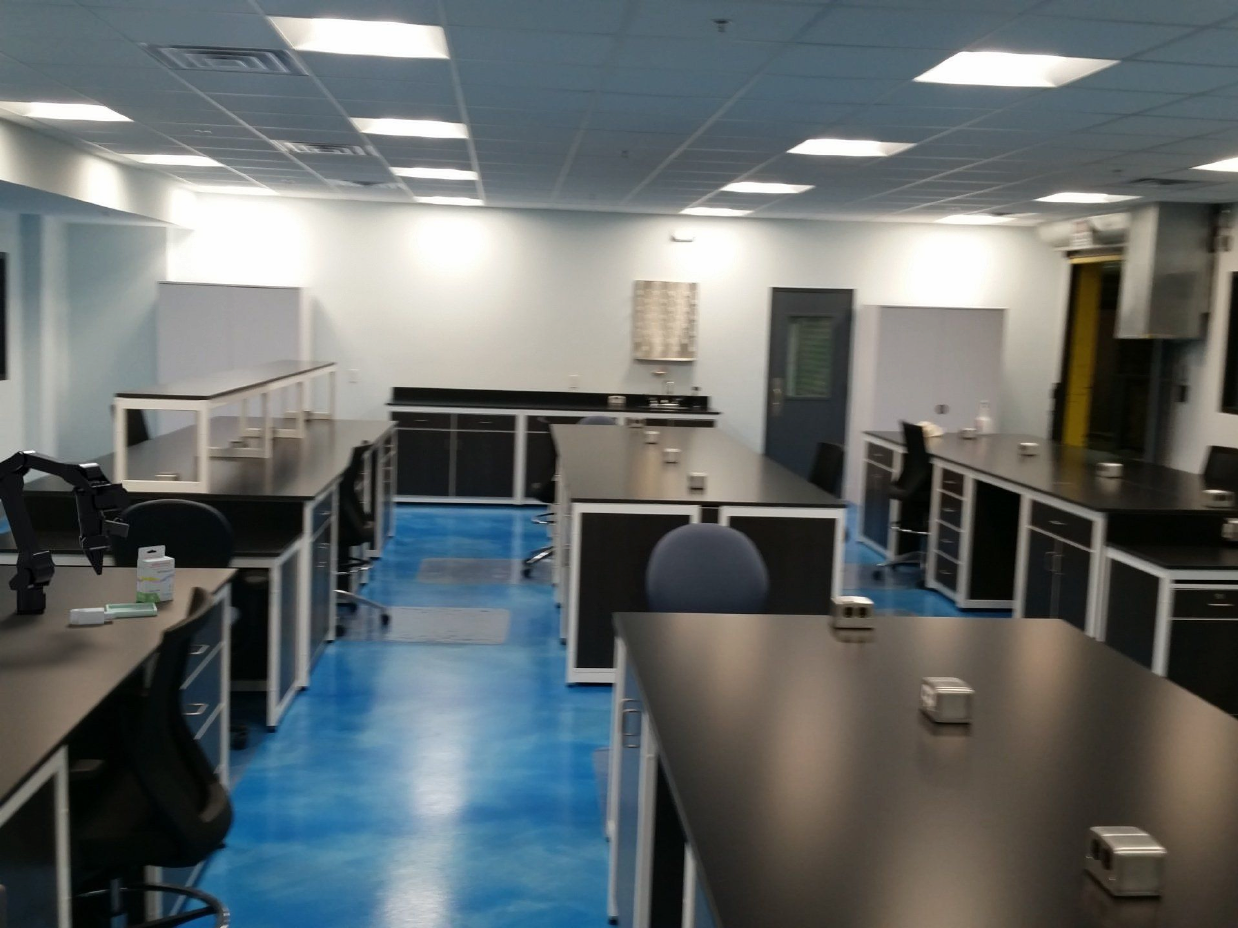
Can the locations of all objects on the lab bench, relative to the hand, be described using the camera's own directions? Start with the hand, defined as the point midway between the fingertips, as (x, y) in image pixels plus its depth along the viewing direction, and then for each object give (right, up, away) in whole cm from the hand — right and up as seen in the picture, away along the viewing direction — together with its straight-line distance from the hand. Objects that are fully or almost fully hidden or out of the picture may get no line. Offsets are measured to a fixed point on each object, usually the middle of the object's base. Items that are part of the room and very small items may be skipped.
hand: (98, 573), depth 300 cm
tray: (+4, -11, +11) cm, 16 cm away
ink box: (+4, -10, +26) cm, 28 cm away
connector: (-2, -12, 0) cm, 13 cm away
